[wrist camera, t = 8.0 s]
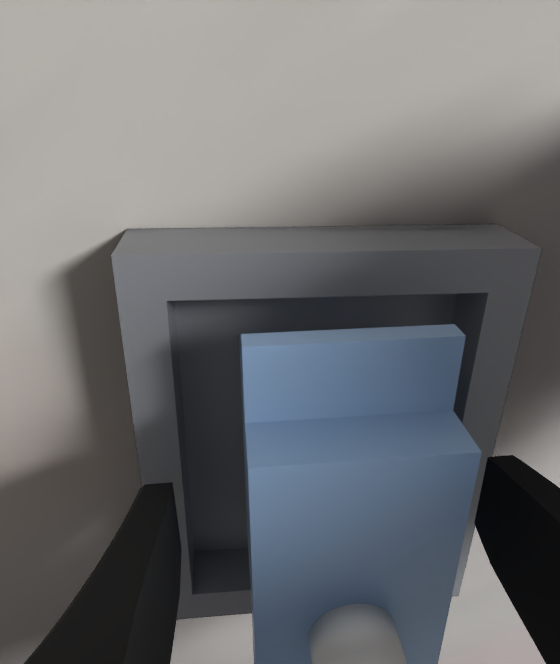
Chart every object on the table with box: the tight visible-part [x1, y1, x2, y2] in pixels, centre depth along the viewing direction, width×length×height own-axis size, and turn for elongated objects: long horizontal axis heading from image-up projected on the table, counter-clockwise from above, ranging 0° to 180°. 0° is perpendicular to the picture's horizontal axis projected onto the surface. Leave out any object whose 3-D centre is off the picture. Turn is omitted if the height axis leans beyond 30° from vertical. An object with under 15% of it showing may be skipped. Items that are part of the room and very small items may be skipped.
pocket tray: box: [111, 224, 542, 619], centre depth 14 cm, size 9×11×2 cm
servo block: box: [239, 324, 482, 664], centre depth 12 cm, size 4×9×6 cm, turn 0°
